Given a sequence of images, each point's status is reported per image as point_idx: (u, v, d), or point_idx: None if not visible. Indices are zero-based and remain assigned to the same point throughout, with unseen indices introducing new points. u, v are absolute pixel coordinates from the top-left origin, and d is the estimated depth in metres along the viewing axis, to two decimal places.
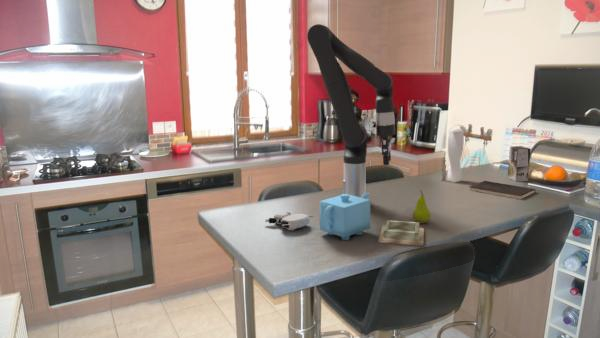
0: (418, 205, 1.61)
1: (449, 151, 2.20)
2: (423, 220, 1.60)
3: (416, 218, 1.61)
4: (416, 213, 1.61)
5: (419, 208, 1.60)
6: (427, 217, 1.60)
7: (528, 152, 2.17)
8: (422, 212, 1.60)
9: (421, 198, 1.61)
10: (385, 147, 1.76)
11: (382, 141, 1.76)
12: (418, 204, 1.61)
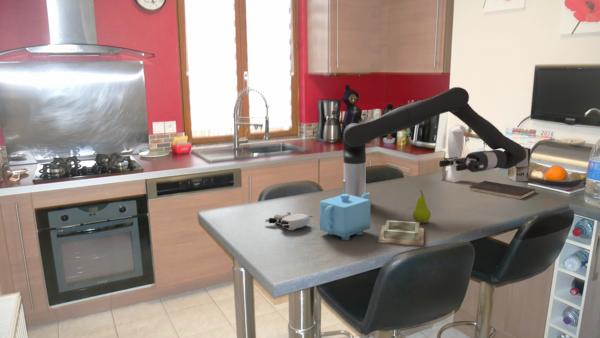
0: (418, 205, 1.61)
1: (449, 151, 2.20)
2: (423, 220, 1.60)
3: (416, 218, 1.61)
4: (416, 213, 1.61)
5: (419, 208, 1.60)
6: (427, 217, 1.60)
7: (528, 152, 2.17)
8: (422, 212, 1.60)
9: (421, 198, 1.61)
10: (478, 167, 1.60)
11: (483, 163, 1.61)
12: (418, 204, 1.61)
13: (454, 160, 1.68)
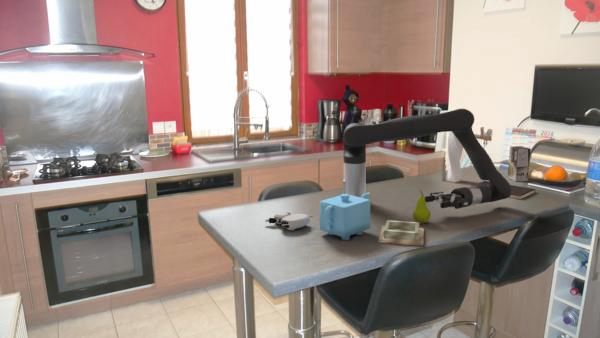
0: (418, 205, 1.61)
1: (449, 151, 2.20)
2: (423, 220, 1.60)
3: (416, 218, 1.61)
4: (416, 213, 1.61)
5: (419, 208, 1.60)
6: (427, 217, 1.60)
7: (528, 152, 2.17)
8: (422, 212, 1.60)
9: (421, 198, 1.61)
10: (462, 205, 1.61)
11: (467, 201, 1.62)
12: (418, 204, 1.61)
13: (439, 196, 1.69)
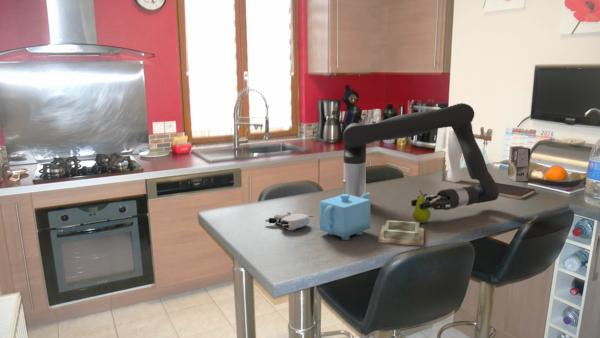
0: (418, 205, 1.61)
1: (449, 151, 2.20)
2: (423, 220, 1.60)
3: (416, 218, 1.61)
4: (416, 213, 1.61)
5: (419, 208, 1.60)
6: (427, 217, 1.60)
7: (528, 152, 2.17)
8: (422, 212, 1.60)
9: (421, 198, 1.61)
10: (442, 206, 1.58)
11: (449, 203, 1.58)
12: (418, 204, 1.61)
13: (427, 198, 1.64)
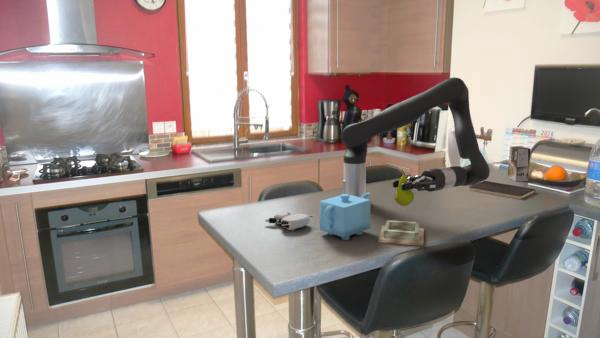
0: (400, 186, 1.46)
1: (449, 151, 2.20)
2: (406, 202, 1.45)
3: (398, 200, 1.46)
4: (398, 195, 1.46)
5: None
6: (410, 199, 1.45)
7: (528, 152, 2.17)
8: (405, 193, 1.45)
9: (403, 178, 1.46)
10: (427, 187, 1.43)
11: (434, 183, 1.43)
12: (400, 185, 1.46)
13: (410, 179, 1.49)
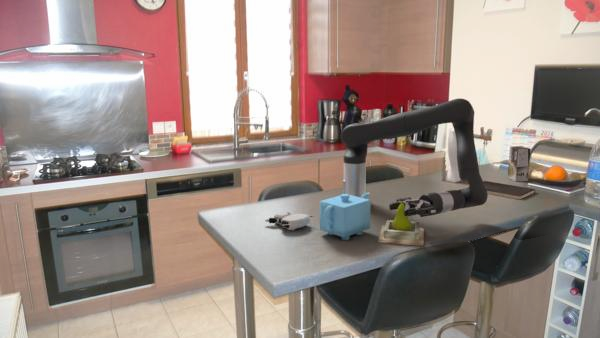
0: (397, 214, 1.48)
1: (449, 151, 2.20)
2: None
3: (395, 228, 1.48)
4: (395, 223, 1.48)
5: (398, 218, 1.47)
6: (407, 227, 1.47)
7: (528, 152, 2.17)
8: (402, 222, 1.46)
9: (401, 207, 1.48)
10: (429, 213, 1.44)
11: (435, 208, 1.45)
12: (397, 213, 1.48)
13: (406, 202, 1.52)
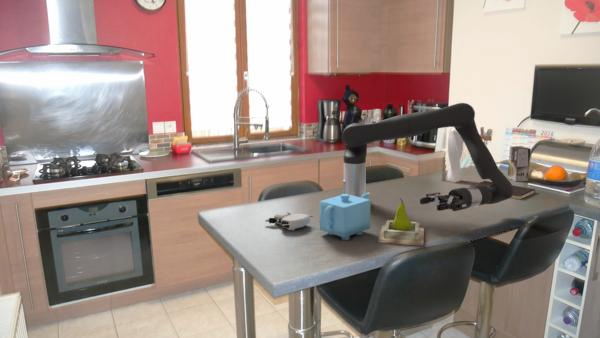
0: (397, 214, 1.48)
1: (449, 151, 2.20)
2: None
3: (395, 228, 1.48)
4: (395, 223, 1.48)
5: (398, 218, 1.47)
6: (407, 227, 1.47)
7: (528, 152, 2.17)
8: (402, 222, 1.46)
9: (401, 207, 1.48)
10: (460, 207, 1.49)
11: (465, 202, 1.50)
12: (398, 213, 1.48)
13: (436, 197, 1.57)
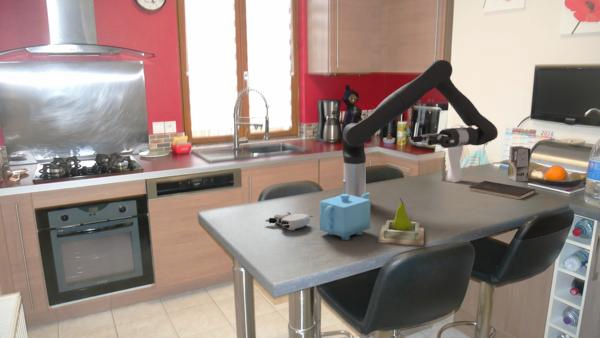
0: (397, 214, 1.48)
1: (449, 151, 2.20)
2: None
3: (395, 228, 1.48)
4: (395, 223, 1.48)
5: (398, 218, 1.47)
6: (407, 227, 1.47)
7: (528, 152, 2.17)
8: (402, 222, 1.46)
9: (401, 207, 1.48)
10: (449, 142, 1.67)
11: (453, 138, 1.68)
12: (397, 213, 1.48)
13: (427, 136, 1.75)
